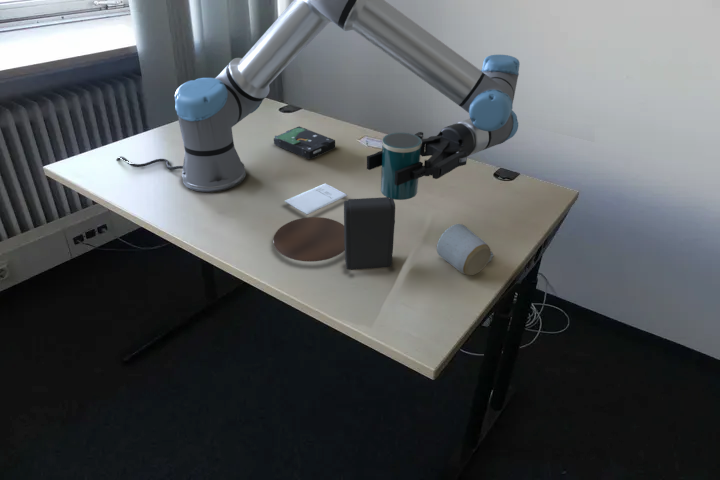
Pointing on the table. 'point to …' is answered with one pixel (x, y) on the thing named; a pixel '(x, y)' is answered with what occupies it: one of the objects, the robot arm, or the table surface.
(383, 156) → the tumbler
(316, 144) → the disk drive
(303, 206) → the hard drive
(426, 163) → the robot arm
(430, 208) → the table surface
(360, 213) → the card reader
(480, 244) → the ceramic mug
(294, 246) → the plate
